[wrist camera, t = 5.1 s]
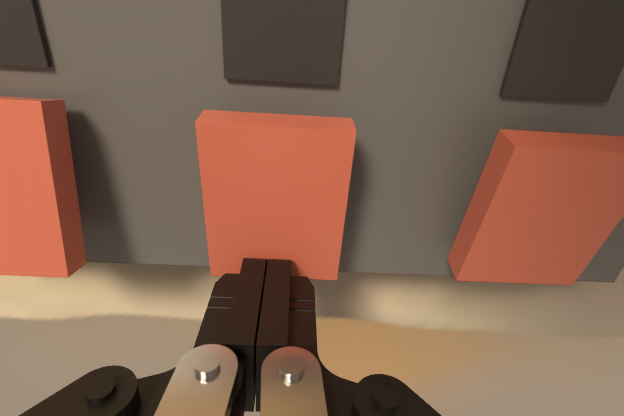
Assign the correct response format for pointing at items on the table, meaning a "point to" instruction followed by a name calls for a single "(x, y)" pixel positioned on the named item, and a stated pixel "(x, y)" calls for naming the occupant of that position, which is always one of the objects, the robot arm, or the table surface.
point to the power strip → (313, 106)
